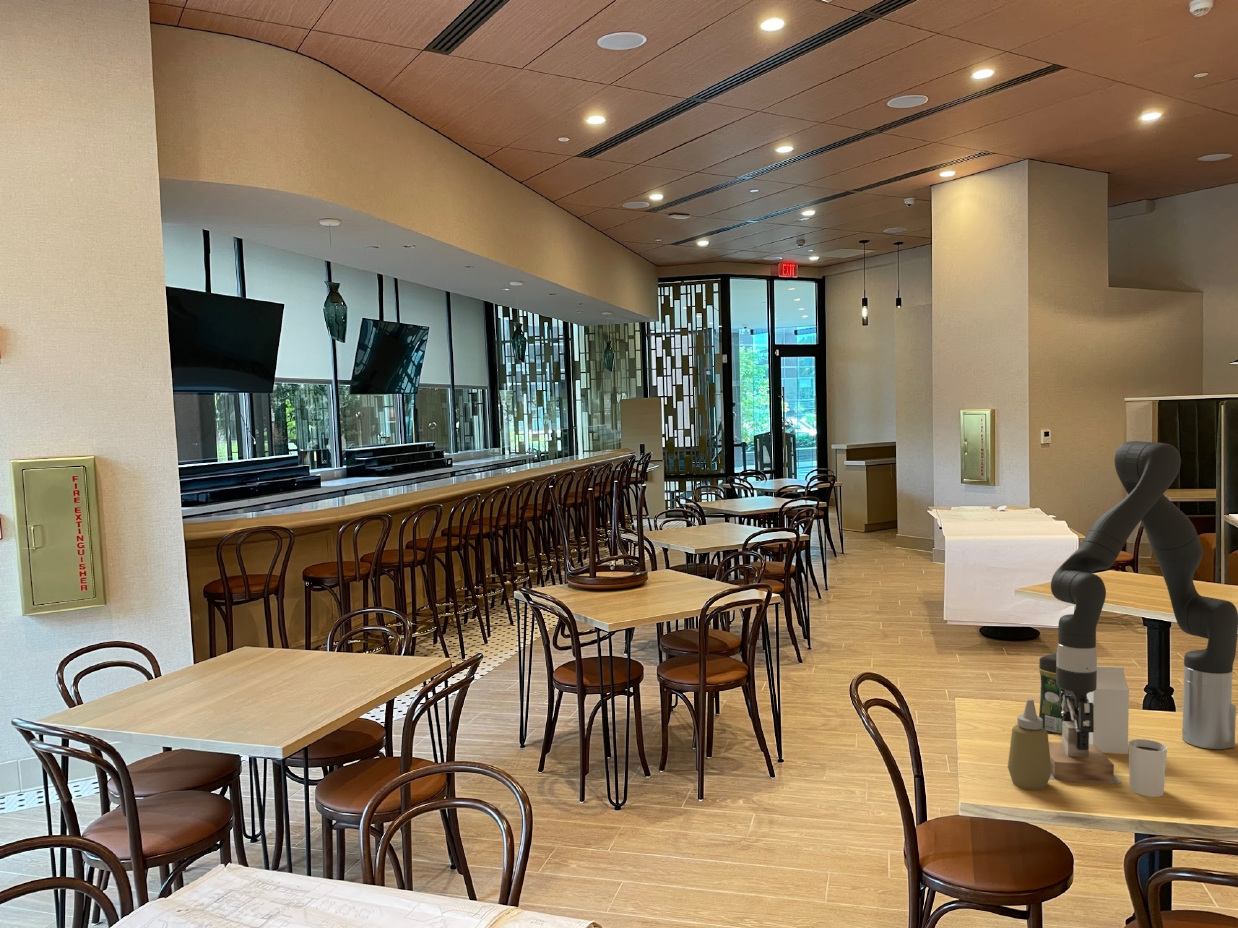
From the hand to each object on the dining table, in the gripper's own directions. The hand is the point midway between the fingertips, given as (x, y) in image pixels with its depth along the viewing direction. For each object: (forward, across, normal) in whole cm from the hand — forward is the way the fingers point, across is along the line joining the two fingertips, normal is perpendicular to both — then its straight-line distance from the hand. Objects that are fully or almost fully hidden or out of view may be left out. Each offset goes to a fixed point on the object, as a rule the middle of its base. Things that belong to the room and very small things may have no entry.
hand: (1075, 741), depth 187 cm
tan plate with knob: (+6, 0, 0) cm, 6 cm away
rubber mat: (+7, 0, 0) cm, 7 cm away
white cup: (+7, -9, -10) cm, 15 cm away
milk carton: (+7, +14, -10) cm, 19 cm away
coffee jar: (+7, +26, -4) cm, 27 cm away
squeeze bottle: (+7, -9, +11) cm, 16 cm away
